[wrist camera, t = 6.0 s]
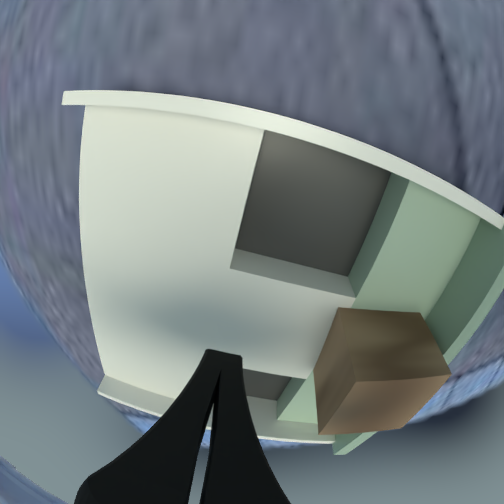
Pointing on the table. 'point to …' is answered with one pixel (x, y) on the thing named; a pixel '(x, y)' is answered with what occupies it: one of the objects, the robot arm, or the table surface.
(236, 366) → the robot arm
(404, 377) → the walnut block
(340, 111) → the table surface
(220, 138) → the board
